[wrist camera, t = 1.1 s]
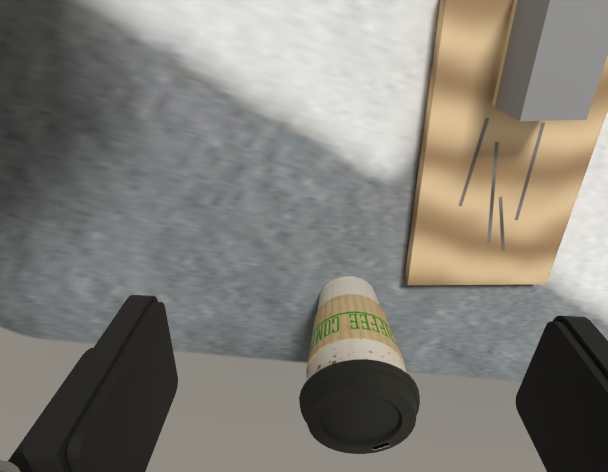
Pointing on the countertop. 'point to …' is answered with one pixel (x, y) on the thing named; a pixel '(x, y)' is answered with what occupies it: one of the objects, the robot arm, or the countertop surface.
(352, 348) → the coffee cup
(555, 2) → the block
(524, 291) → the countertop surface
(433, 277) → the board
